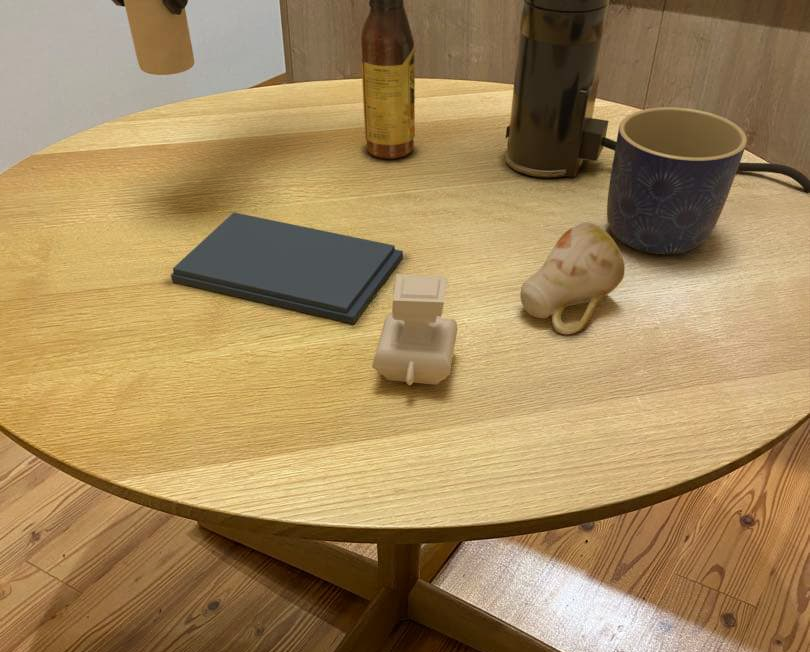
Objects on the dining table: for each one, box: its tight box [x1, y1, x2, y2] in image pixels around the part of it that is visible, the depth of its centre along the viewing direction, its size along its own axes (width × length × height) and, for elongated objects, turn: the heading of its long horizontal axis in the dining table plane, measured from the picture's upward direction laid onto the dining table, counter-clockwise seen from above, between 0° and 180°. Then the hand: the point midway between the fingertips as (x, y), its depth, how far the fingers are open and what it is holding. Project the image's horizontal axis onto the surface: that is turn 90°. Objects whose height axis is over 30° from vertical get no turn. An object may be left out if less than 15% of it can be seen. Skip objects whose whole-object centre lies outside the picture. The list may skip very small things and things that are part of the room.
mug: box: [519, 221, 626, 335], centre depth 76 cm, size 8×10×10 cm
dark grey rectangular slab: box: [170, 212, 404, 325], centre depth 81 cm, size 20×13×1 cm, turn 69°
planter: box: [606, 106, 748, 255], centre depth 82 cm, size 12×12×11 cm
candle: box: [124, 0, 195, 76], centre depth 76 cm, size 6×6×10 cm
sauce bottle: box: [360, 0, 416, 160], centre depth 93 cm, size 6×6×20 cm
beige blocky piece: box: [372, 273, 458, 386], centre depth 68 cm, size 9×7×8 cm
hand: (143, 4), depth 74 cm, fingers closed on candle, 5 cm apart
